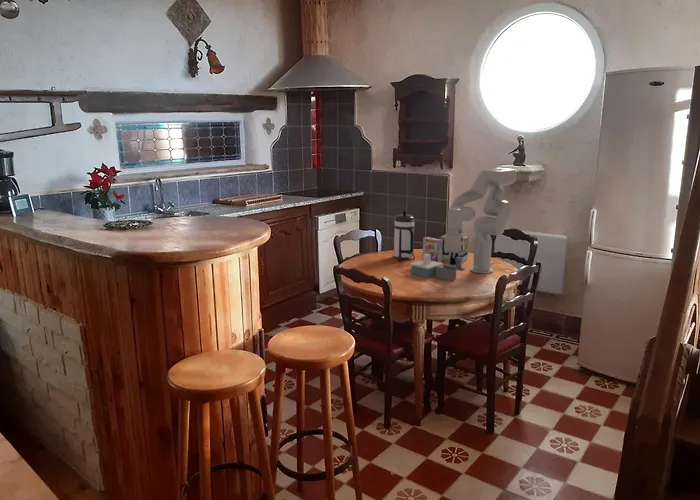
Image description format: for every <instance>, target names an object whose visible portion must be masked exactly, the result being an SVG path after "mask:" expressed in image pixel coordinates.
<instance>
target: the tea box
mask: <svg viewBox="0 0 700 500" xmlns="http://www.w3.org/2000/svg"><path fill="white" fill-rule="evenodd" d="M445 236H446V234H444V235H441V236H440V237H439V239H440V240H443V246H442V261H446V262H447V261H449V262H450V257H449V255H448V254H447V253H445V252H444V251H445V250H444V242H445ZM463 238H464V251H463V252H462V255H461V256H458V257H456V258H459V257H463V260H462V263H464V262H466V261H467V260H468V253H469V236H466V235H463Z"/></svg>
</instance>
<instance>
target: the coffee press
mask: <svg viewBox="0 0 700 500" xmlns="http://www.w3.org/2000/svg"><path fill="white" fill-rule="evenodd" d="M393 221H394V224H393V227H394V228H393V229H394V233H393V234H394V236H393V242H394V243H393V246H394V247H393V254H392V255H391V256H392V258H395V257H396V258H397V261H398V262H399V261H402V259H407V258H409V259H412V260H415V259H416V257H415V255H414V249H415V248H414V247H415V246H414V244H415V243H414V242H415V221H416V219H415V218H414V216H413V215H412V214H407V211H406V210H402V213H401V214H397V215H396V216H395V217H394V218H393Z"/></svg>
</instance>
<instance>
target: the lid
mask: <svg viewBox="0 0 700 500" xmlns="http://www.w3.org/2000/svg"><path fill="white" fill-rule="evenodd" d="M439 265H444V263H443V262H442V263H439V262H435V261H431V255H430V254H424V255H423V260H422V259H420V260H418V261H414V262H411V263H410V266H411V267H412V266H416V267H421V268H425V269H432V268H436V266H439Z"/></svg>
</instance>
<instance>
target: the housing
mask: <svg viewBox="0 0 700 500" xmlns="http://www.w3.org/2000/svg"><path fill="white" fill-rule="evenodd" d="M443 265H444V264H443ZM443 265H439V266H436V268H432V269H425V268H421V267H416V266H412V265H411V271H410V272H411V274H412V275H415V276H420V277H424V278H428V279H429V278H433V277H435V278H437V279H441V280H444V281H448V282H449V281H450V282H452V281H455V280H456V279H457V270H455V269H450V268H446V267H443Z"/></svg>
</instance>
